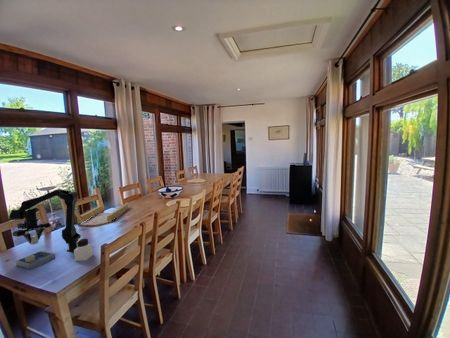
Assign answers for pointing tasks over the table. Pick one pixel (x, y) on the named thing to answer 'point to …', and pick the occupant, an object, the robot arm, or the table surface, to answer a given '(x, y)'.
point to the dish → (37, 262)
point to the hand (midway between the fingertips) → (34, 241)
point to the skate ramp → (98, 210)
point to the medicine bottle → (83, 250)
